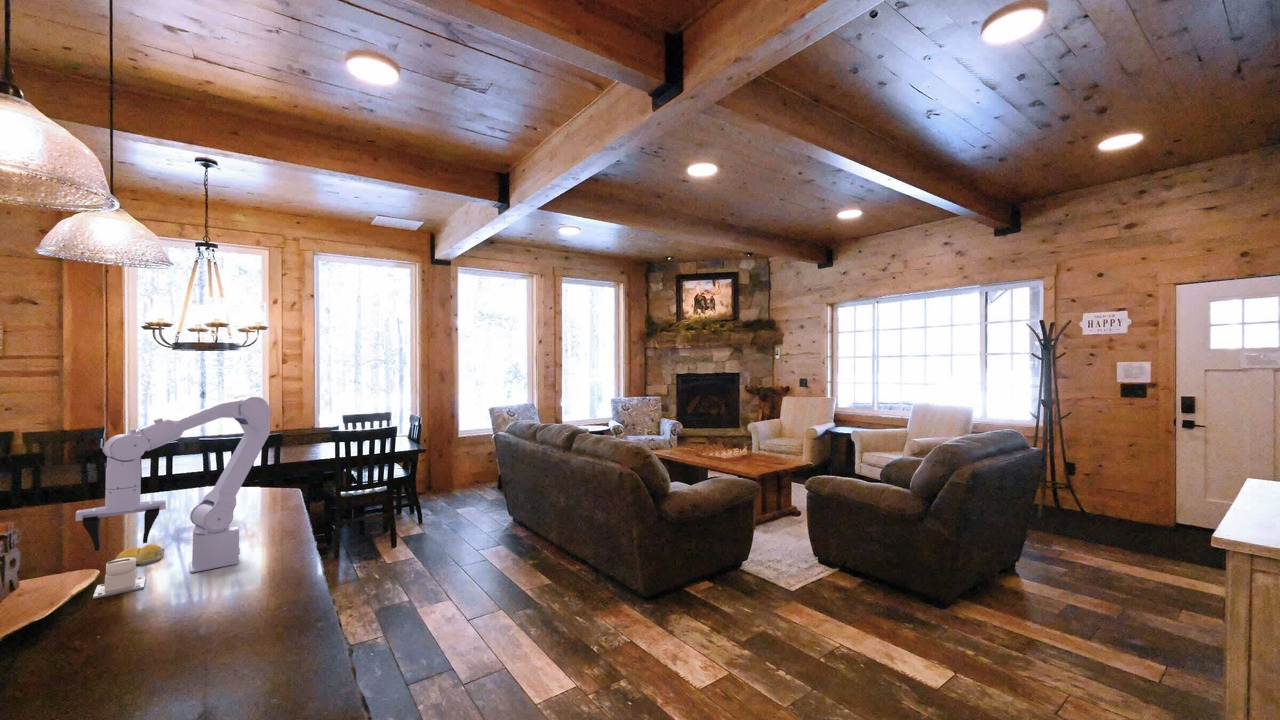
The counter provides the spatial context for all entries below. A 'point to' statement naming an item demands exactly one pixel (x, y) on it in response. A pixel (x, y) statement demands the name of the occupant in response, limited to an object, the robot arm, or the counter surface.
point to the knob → (120, 573)
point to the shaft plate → (102, 593)
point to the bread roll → (143, 554)
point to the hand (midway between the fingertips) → (121, 545)
